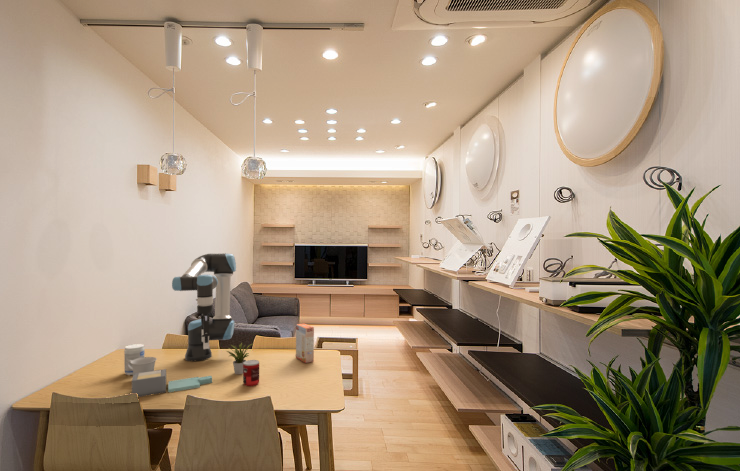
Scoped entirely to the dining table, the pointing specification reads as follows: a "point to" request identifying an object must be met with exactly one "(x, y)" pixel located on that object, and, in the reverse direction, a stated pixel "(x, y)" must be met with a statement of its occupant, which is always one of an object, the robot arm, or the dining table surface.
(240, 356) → the house plant
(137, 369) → the teacup
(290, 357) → the dining table surface
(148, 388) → the tub
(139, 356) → the supplement tub
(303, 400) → the dining table surface
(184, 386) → the lid
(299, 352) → the cracker box
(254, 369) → the canned food
